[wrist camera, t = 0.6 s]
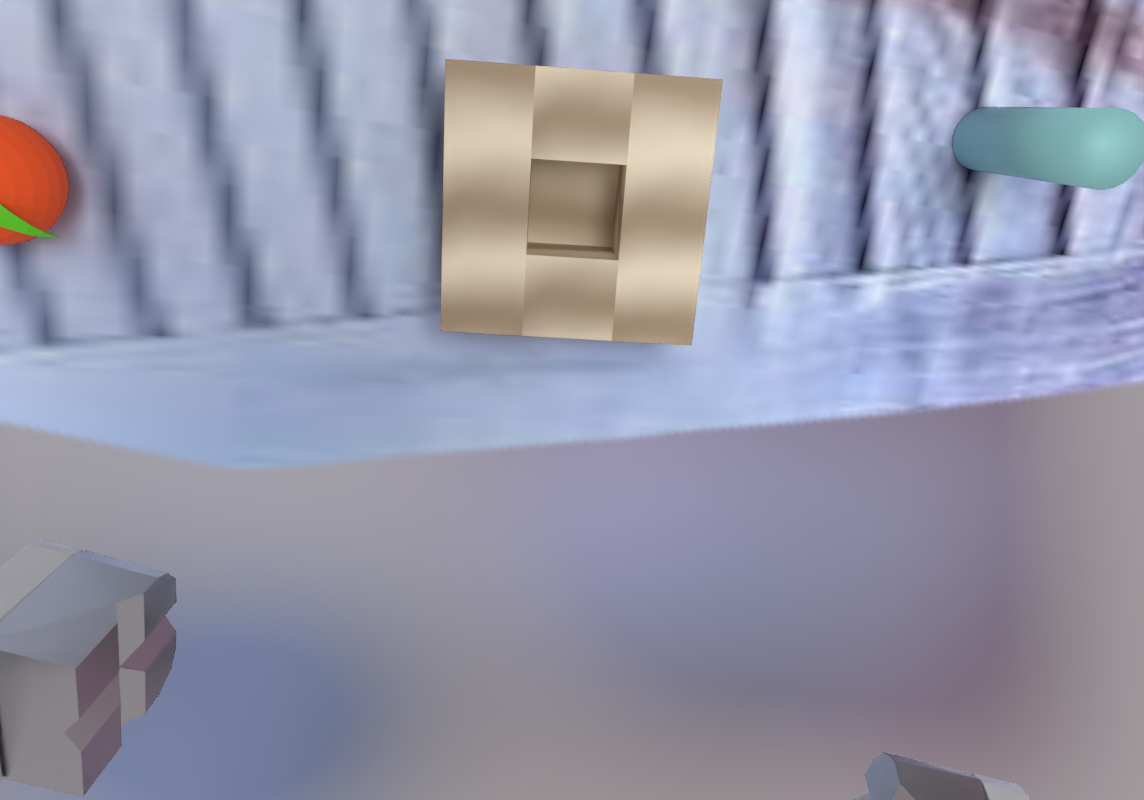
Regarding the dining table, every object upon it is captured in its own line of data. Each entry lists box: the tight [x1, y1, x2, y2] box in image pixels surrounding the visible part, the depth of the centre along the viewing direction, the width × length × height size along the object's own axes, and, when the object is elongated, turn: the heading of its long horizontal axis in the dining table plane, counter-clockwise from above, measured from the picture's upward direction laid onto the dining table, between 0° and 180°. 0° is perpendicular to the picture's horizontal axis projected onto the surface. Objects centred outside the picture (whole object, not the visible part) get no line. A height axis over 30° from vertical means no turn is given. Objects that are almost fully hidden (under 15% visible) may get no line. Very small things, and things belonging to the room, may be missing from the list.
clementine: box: [0, 115, 69, 245], centre depth 47 cm, size 8×7×7 cm
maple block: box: [441, 59, 723, 345], centre depth 48 cm, size 14×14×6 cm
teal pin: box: [952, 107, 1144, 190], centre depth 45 cm, size 4×4×12 cm
